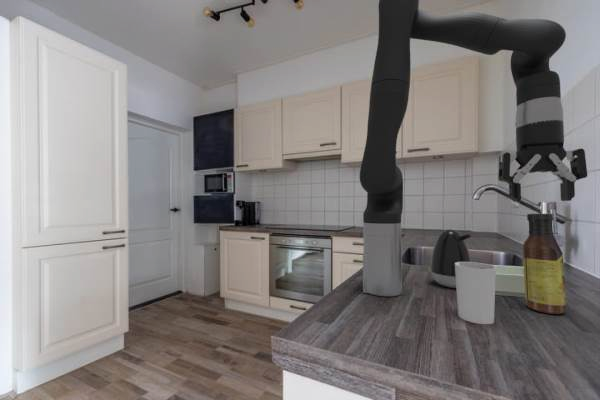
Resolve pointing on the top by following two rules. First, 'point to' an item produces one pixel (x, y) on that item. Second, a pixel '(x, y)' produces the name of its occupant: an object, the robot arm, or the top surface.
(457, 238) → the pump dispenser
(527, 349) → the top surface
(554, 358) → the top surface
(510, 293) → the bin
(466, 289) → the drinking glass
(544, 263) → the sauce bottle
